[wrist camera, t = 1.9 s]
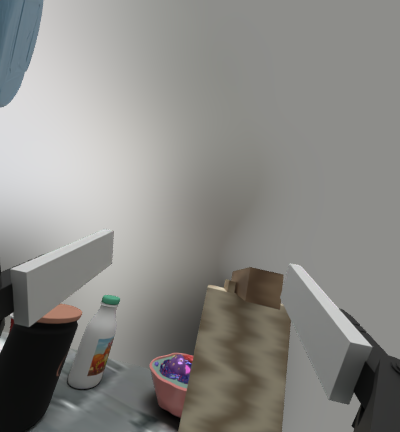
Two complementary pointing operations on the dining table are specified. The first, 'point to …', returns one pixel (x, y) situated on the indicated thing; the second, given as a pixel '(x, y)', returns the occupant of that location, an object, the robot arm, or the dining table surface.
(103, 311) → the milk bottle
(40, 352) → the coffee jar
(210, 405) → the wooden block tower
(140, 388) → the dining table surface
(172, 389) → the cell model
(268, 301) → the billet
